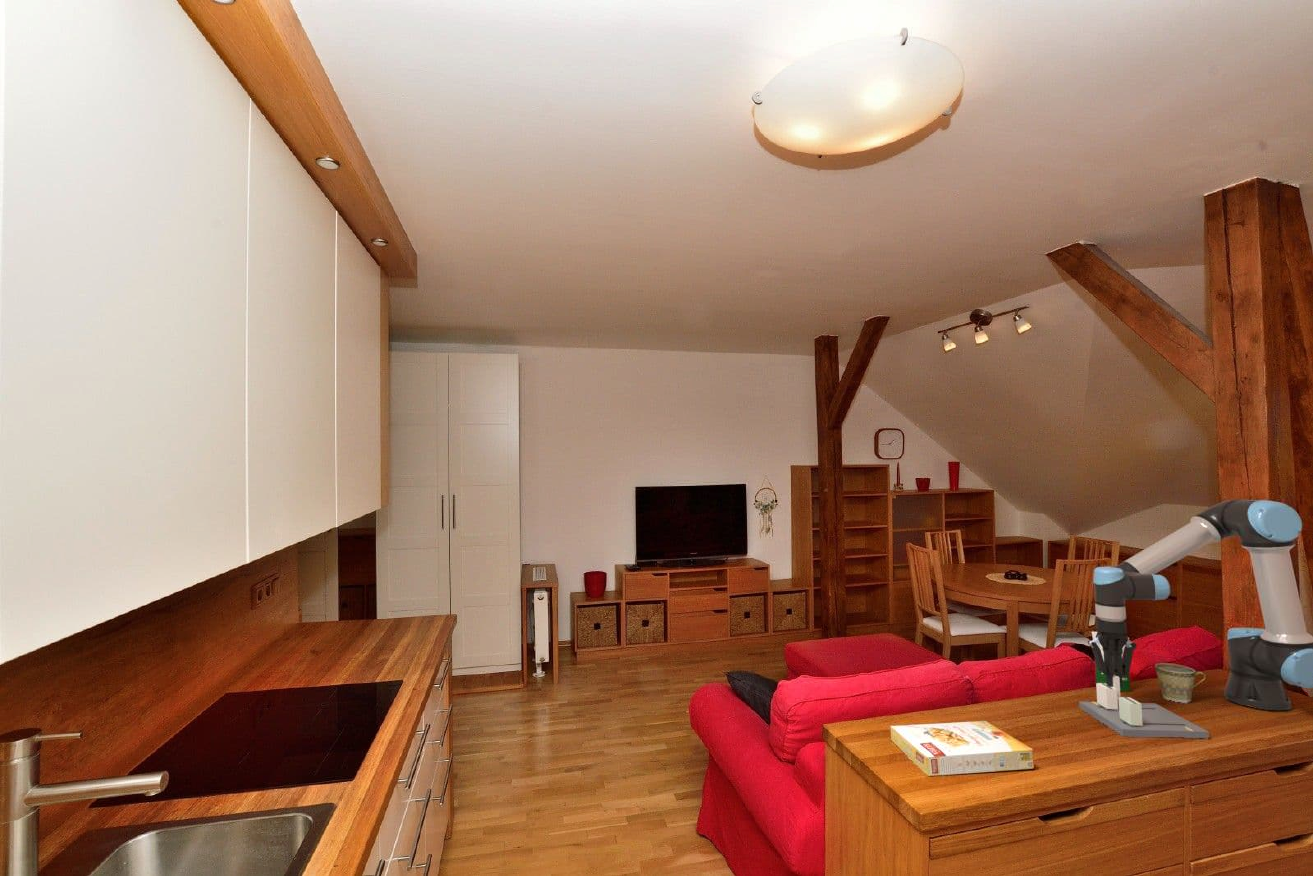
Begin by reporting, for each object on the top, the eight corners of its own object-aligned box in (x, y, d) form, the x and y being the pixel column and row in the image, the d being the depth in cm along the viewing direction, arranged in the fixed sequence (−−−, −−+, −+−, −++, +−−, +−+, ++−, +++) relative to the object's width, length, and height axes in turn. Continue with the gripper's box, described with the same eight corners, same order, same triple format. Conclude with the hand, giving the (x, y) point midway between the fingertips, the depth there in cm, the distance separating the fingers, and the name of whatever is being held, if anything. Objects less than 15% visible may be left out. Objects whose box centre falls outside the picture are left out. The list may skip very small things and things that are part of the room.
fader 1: (1107, 703, 189) (1106, 682, 190) (1118, 709, 184) (1116, 688, 185) (1097, 703, 190) (1096, 682, 190) (1107, 709, 185) (1106, 688, 185)
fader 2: (1130, 718, 177) (1129, 696, 178) (1142, 725, 172) (1141, 703, 173) (1119, 718, 178) (1118, 696, 178) (1131, 725, 173) (1129, 703, 173)
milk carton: (1107, 692, 205) (1103, 631, 206) (1090, 683, 214) (1087, 625, 215) (1135, 693, 204) (1131, 631, 205) (1117, 683, 213) (1114, 625, 214)
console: (1155, 710, 189) (1155, 703, 190) (1209, 739, 169) (1208, 731, 169) (1079, 708, 192) (1079, 701, 192) (1122, 736, 171) (1122, 729, 171)
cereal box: (1034, 748, 153) (927, 755, 150) (1036, 771, 153) (928, 778, 150) (984, 718, 173) (888, 723, 170) (985, 738, 173) (889, 744, 170)
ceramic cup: (1166, 703, 194) (1164, 671, 195) (1150, 692, 204) (1149, 662, 205) (1216, 707, 191) (1213, 674, 191) (1198, 696, 200) (1196, 665, 201)
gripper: (1125, 616, 191) (1130, 693, 190) (1080, 615, 193) (1084, 692, 191) (1142, 622, 184) (1146, 702, 182) (1095, 621, 185) (1099, 701, 184)
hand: (1115, 697), depth 187 cm, fingers closed
